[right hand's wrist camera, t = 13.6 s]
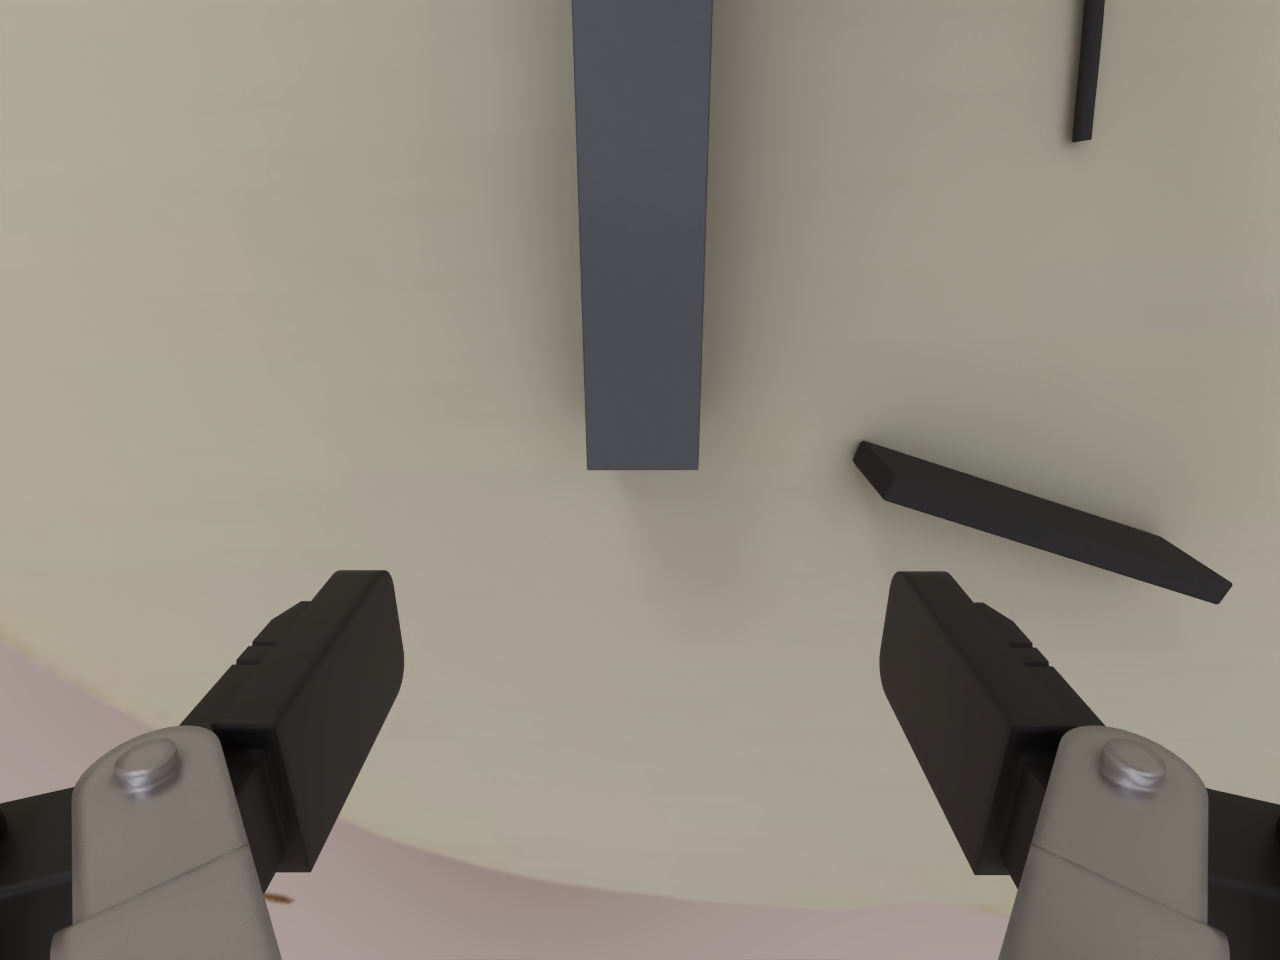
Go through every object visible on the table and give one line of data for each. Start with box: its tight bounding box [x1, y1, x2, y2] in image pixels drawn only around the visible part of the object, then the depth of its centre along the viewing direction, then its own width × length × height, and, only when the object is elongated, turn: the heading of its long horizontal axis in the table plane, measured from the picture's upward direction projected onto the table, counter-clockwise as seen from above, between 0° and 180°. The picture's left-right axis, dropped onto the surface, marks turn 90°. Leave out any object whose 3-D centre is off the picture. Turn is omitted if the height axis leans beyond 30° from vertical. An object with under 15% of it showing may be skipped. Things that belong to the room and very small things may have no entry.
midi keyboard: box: [853, 441, 1232, 604], centre depth 34 cm, size 18×1×5 cm, turn 72°
